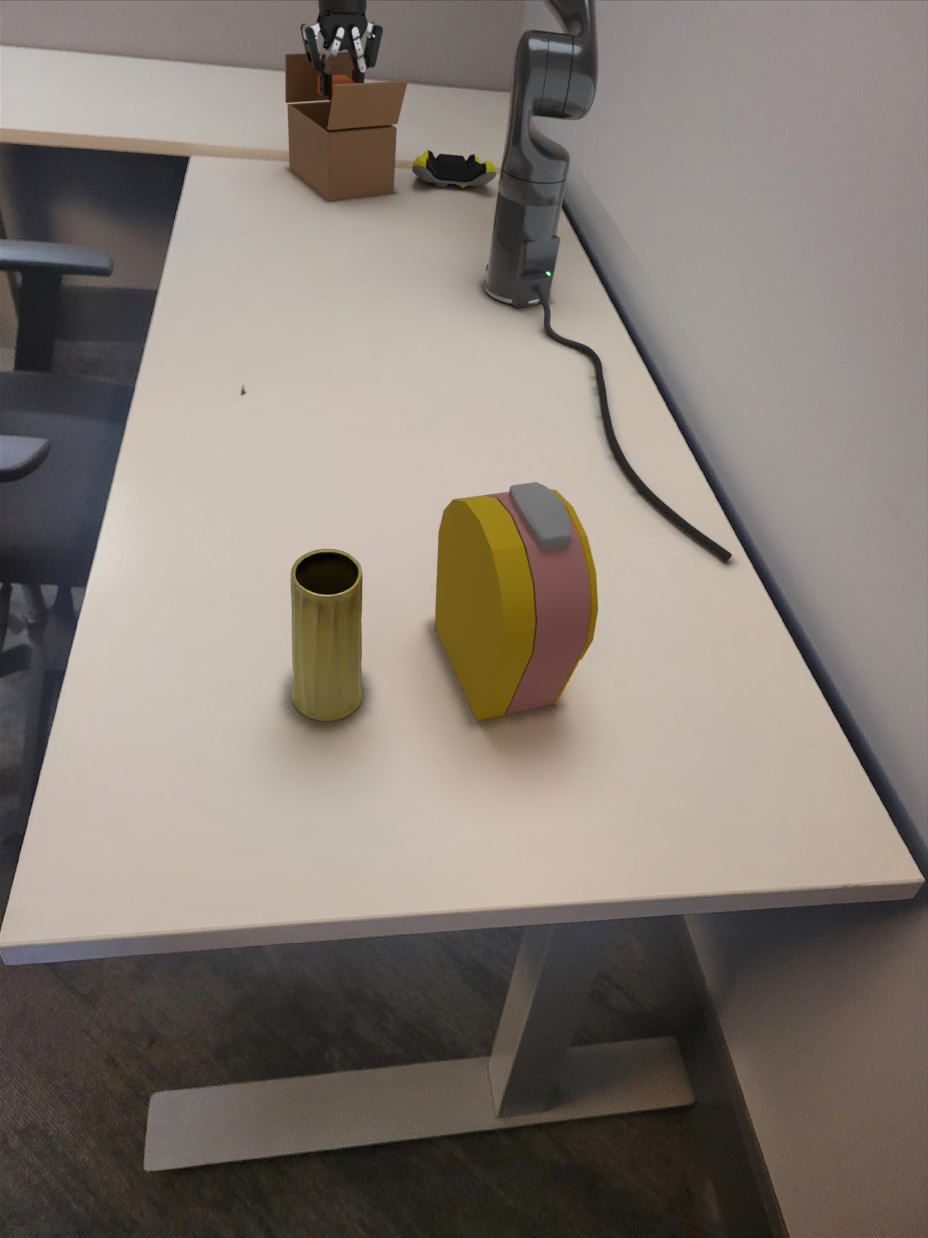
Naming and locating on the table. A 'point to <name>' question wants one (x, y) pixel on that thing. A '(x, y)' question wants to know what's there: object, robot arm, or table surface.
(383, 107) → the box flap
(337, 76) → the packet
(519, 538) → the tape measure
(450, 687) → the table surface
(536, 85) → the robot arm
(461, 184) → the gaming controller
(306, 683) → the vase
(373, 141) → the cardboard box
